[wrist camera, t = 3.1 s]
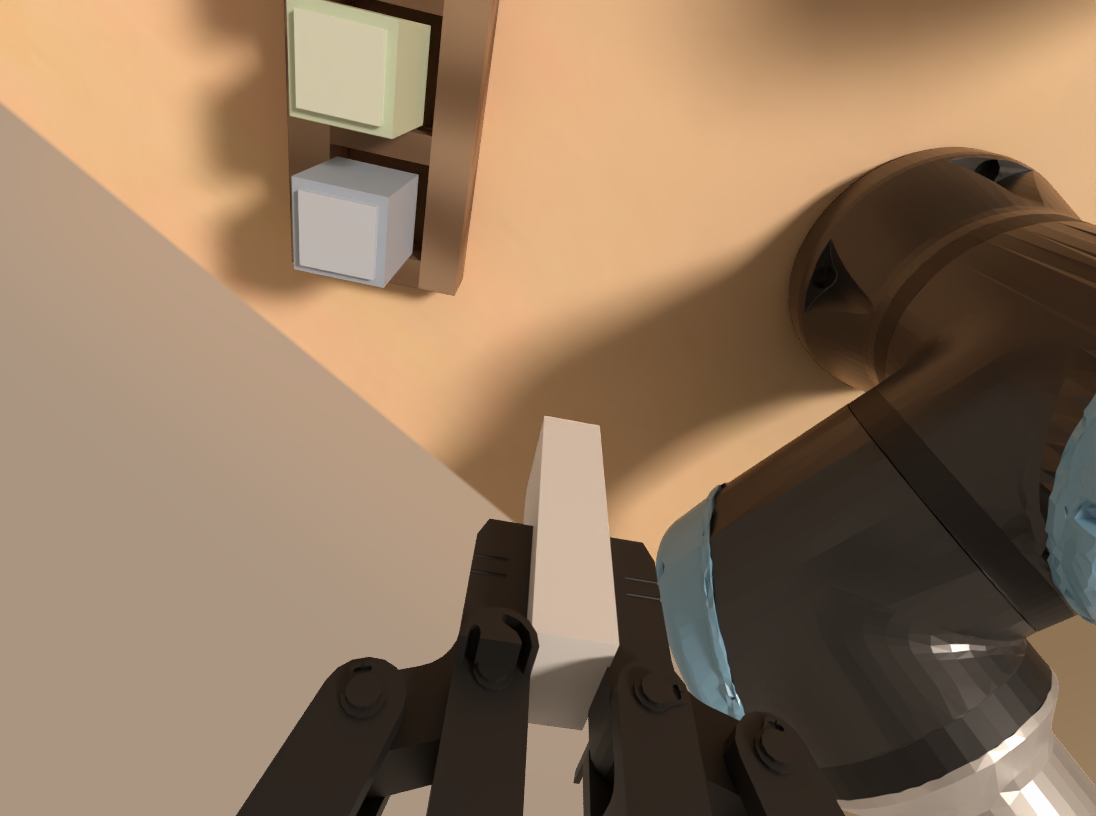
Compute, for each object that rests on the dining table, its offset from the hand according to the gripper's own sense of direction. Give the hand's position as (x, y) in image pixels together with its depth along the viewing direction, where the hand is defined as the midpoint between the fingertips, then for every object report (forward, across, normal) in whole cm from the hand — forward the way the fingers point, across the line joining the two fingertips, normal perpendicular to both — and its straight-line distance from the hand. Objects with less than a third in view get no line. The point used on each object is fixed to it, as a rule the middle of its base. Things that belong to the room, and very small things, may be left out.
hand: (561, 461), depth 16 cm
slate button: (+21, -11, 0) cm, 24 cm away
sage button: (+21, -11, +7) cm, 25 cm away
